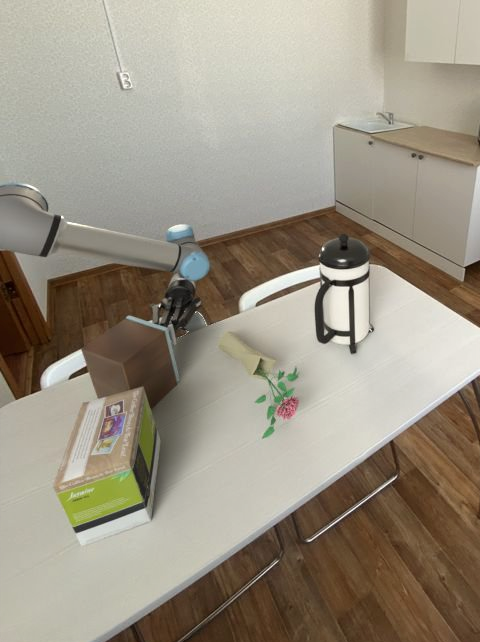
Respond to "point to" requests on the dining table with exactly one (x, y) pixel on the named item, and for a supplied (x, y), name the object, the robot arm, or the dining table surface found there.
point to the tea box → (110, 466)
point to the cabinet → (130, 361)
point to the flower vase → (262, 376)
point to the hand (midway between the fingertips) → (162, 345)
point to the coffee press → (343, 292)
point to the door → (172, 335)
